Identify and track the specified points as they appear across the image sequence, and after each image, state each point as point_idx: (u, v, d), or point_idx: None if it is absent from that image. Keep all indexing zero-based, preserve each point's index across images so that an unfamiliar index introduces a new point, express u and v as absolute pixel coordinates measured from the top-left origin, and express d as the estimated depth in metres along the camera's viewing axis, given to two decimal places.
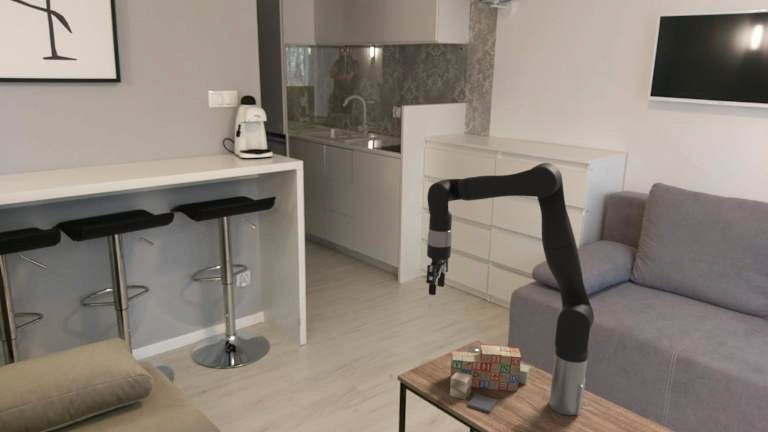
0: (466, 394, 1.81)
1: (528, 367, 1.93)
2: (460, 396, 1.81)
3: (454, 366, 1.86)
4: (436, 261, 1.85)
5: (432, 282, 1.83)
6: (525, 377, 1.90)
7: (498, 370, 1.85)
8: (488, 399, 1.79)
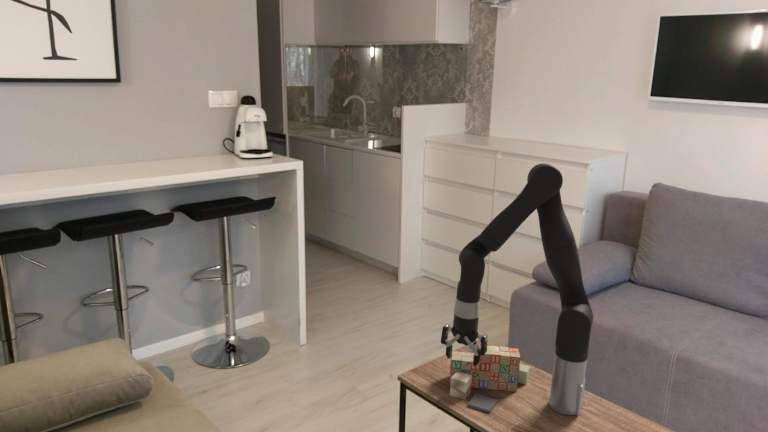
0: (466, 394, 1.81)
1: (528, 367, 1.93)
2: (460, 396, 1.81)
3: (453, 366, 1.86)
4: None
5: (486, 351, 1.77)
6: (525, 377, 1.90)
7: (497, 370, 1.85)
8: (488, 399, 1.79)
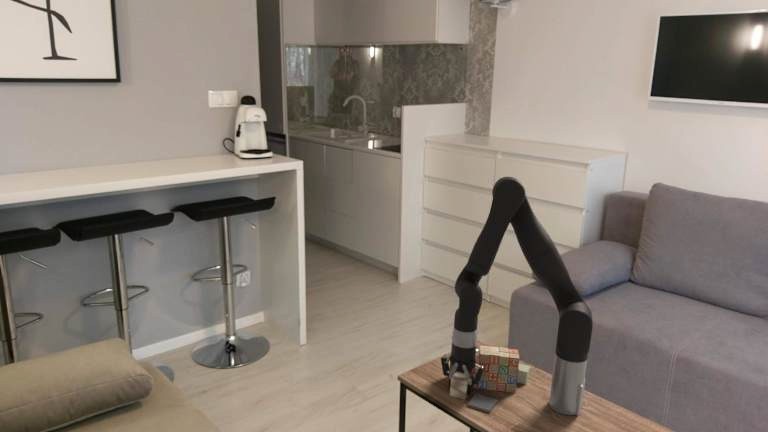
0: (466, 394, 1.81)
1: (528, 367, 1.93)
2: (459, 396, 1.81)
3: None
4: None
5: (479, 380, 1.80)
6: (525, 377, 1.90)
7: (496, 370, 1.85)
8: (488, 399, 1.79)
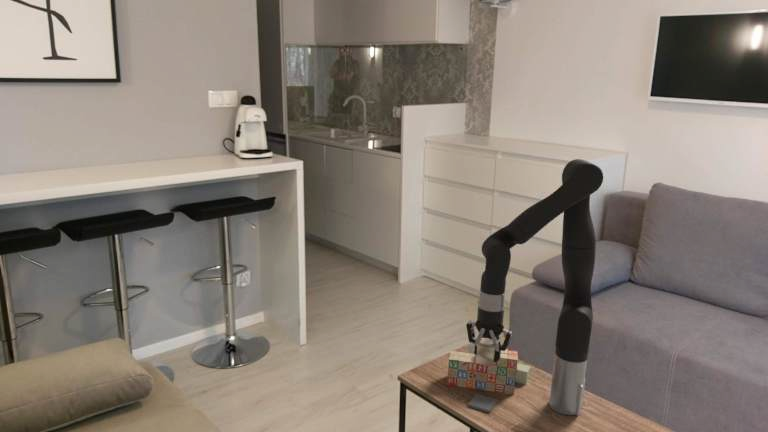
0: (493, 361, 1.72)
1: (528, 367, 1.93)
2: (486, 363, 1.72)
3: (450, 365, 1.87)
4: (502, 324, 1.71)
5: (507, 346, 1.71)
6: (525, 377, 1.90)
7: (495, 372, 1.84)
8: (488, 399, 1.79)
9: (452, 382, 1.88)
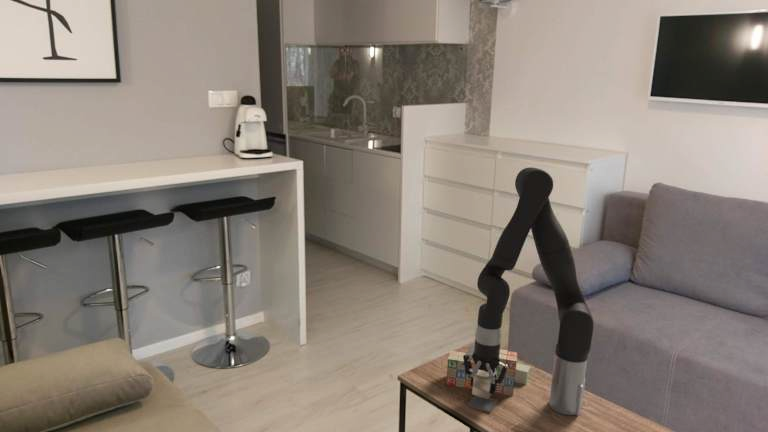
0: (489, 393, 1.75)
1: (528, 367, 1.93)
2: (482, 395, 1.75)
3: (449, 365, 1.87)
4: None
5: (503, 379, 1.74)
6: (525, 377, 1.90)
7: None
8: (488, 399, 1.79)
9: (451, 382, 1.88)
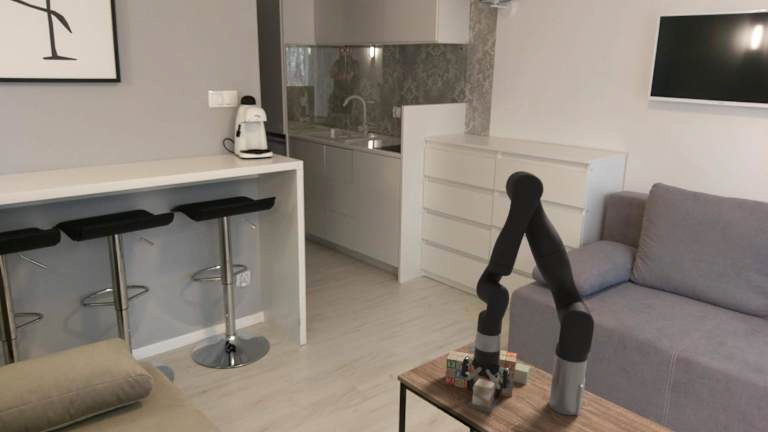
0: (489, 402, 1.75)
1: (528, 367, 1.93)
2: (482, 404, 1.75)
3: (448, 365, 1.87)
4: None
5: (508, 384, 1.74)
6: (525, 377, 1.90)
7: None
8: None
9: (450, 382, 1.88)
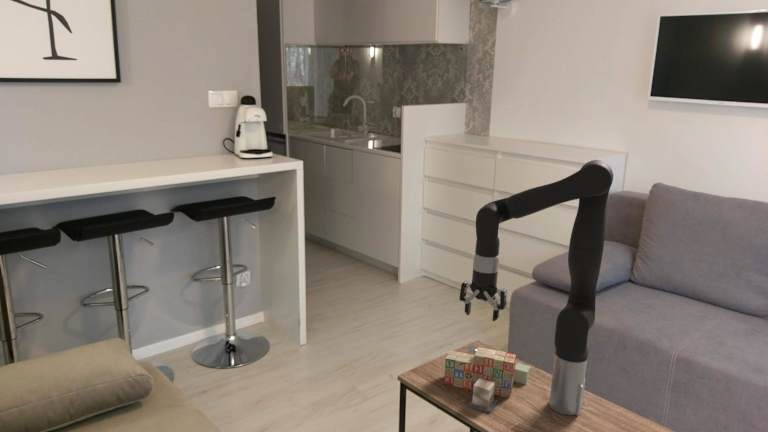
0: (489, 402, 1.75)
1: (528, 367, 1.93)
2: (482, 404, 1.75)
3: (447, 364, 1.87)
4: None
5: (505, 305, 1.79)
6: (525, 377, 1.90)
7: (490, 373, 1.83)
8: None
9: (449, 381, 1.88)
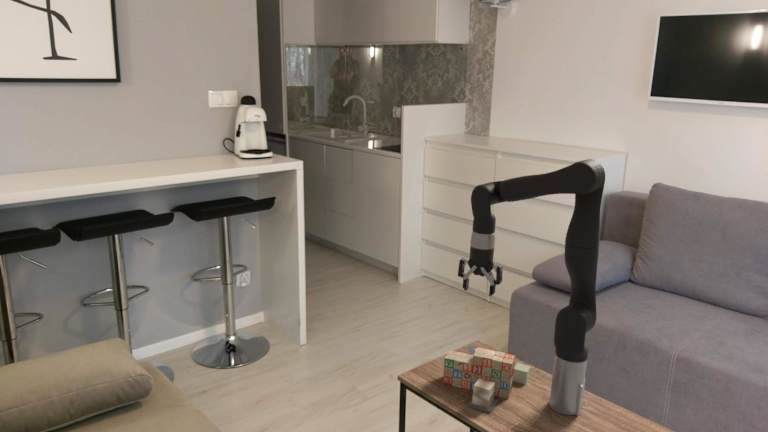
0: (489, 402, 1.75)
1: (528, 367, 1.93)
2: (482, 404, 1.75)
3: (446, 364, 1.87)
4: (492, 261, 1.87)
5: (501, 281, 1.88)
6: (525, 377, 1.90)
7: (489, 374, 1.82)
8: None
9: (448, 381, 1.88)
